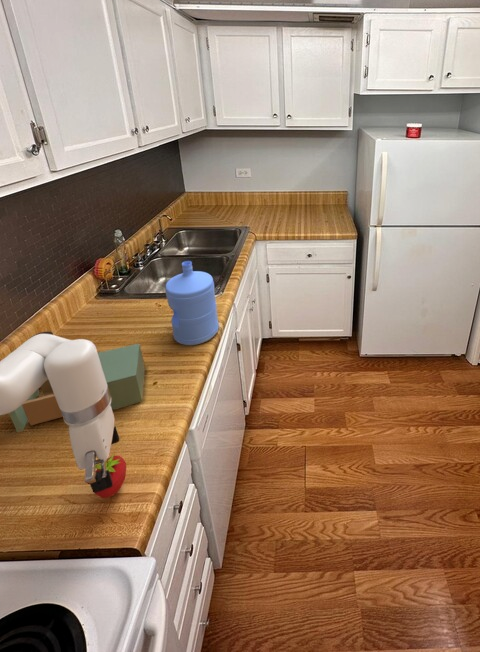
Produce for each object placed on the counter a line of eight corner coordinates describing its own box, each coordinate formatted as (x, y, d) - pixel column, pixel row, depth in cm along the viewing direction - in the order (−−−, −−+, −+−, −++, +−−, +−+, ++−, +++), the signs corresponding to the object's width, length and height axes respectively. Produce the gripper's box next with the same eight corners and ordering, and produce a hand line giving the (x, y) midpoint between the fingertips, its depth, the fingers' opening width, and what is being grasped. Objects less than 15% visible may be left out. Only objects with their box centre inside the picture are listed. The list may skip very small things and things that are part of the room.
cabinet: (75, 420, 87) (66, 393, 83) (86, 382, 98) (78, 356, 95) (142, 401, 92) (135, 375, 89) (145, 367, 104) (139, 343, 100)
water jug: (224, 319, 127) (217, 253, 117) (211, 347, 113) (202, 275, 103) (184, 318, 128) (173, 252, 117) (165, 346, 113) (152, 274, 103)
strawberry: (92, 515, 67) (80, 483, 63) (106, 476, 74) (96, 445, 70) (124, 508, 68) (114, 476, 64) (135, 471, 75) (126, 440, 71)
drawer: (-8, 439, 80) (-20, 416, 78) (12, 399, 91) (3, 378, 88) (85, 413, 88) (78, 391, 85) (94, 379, 98) (88, 358, 95)
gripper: (74, 375, 68) (94, 434, 74) (47, 452, 53) (75, 518, 59) (115, 364, 70) (132, 422, 76) (101, 435, 55) (123, 500, 62)
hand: (107, 464), depth 68 cm, fingers open, 9 cm apart
